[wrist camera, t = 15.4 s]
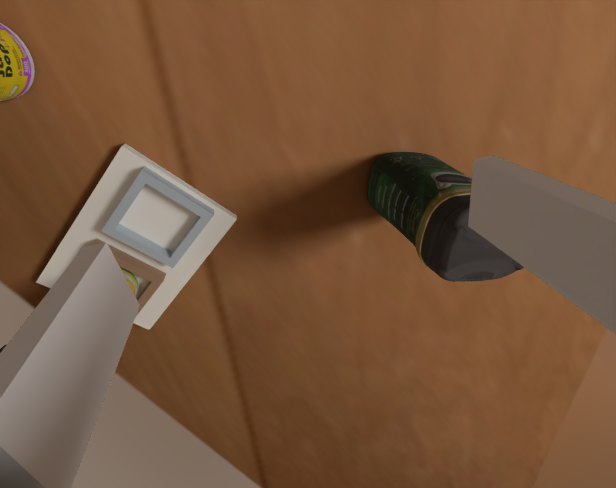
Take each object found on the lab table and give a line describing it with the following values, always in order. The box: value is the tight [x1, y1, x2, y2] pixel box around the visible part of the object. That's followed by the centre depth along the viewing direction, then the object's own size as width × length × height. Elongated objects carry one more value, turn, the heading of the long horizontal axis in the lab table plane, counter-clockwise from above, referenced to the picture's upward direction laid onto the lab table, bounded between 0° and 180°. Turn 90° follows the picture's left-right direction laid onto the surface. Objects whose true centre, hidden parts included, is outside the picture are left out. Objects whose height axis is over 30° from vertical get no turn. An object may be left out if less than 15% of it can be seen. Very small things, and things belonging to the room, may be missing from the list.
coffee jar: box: [367, 152, 524, 281], centre depth 36 cm, size 10×8×19 cm
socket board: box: [36, 144, 237, 330], centre depth 41 cm, size 14×20×3 cm
